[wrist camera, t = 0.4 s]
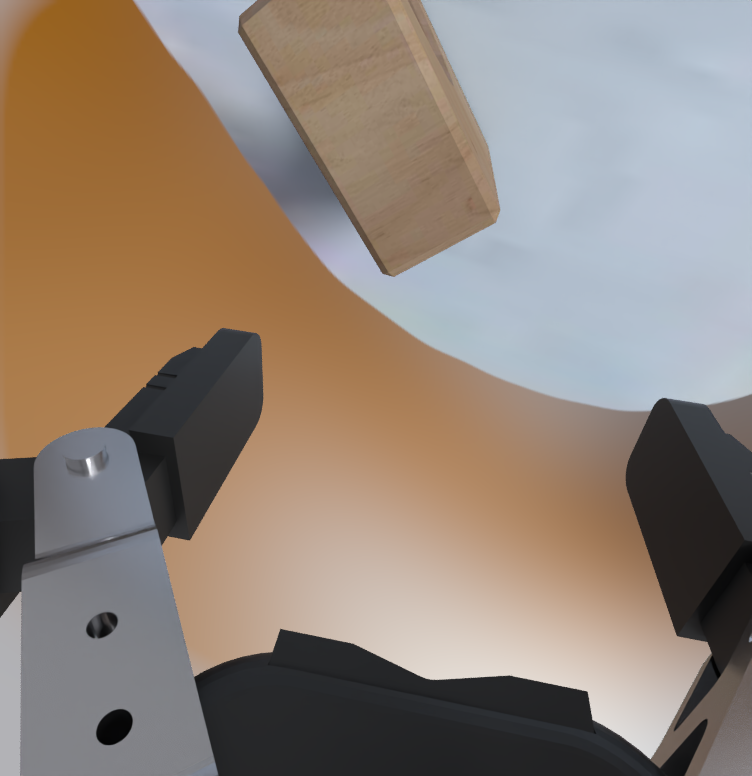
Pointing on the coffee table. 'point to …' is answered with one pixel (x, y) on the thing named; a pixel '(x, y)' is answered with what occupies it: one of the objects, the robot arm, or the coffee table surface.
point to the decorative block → (379, 120)
